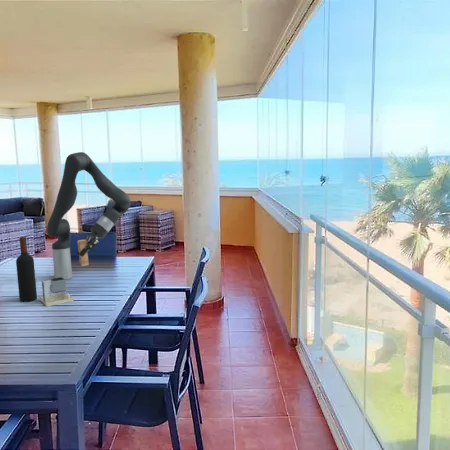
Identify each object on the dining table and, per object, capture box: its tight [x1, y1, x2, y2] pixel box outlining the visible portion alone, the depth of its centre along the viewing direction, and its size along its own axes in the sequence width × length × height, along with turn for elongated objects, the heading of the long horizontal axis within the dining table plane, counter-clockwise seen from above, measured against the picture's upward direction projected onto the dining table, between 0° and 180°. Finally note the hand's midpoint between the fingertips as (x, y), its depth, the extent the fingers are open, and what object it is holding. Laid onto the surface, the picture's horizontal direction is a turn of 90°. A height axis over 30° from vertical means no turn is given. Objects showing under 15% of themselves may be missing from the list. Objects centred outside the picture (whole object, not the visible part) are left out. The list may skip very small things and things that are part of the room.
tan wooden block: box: [77, 239, 89, 267], centre depth 206 cm, size 3×3×12 cm
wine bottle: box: [15, 236, 38, 303], centre depth 201 cm, size 8×8×30 cm
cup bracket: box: [39, 277, 74, 307], centre depth 200 cm, size 12×12×10 cm
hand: (79, 254), depth 205 cm, fingers closed on tan wooden block, 3 cm apart
